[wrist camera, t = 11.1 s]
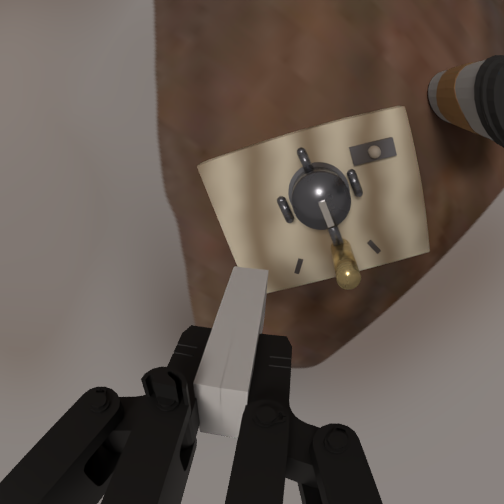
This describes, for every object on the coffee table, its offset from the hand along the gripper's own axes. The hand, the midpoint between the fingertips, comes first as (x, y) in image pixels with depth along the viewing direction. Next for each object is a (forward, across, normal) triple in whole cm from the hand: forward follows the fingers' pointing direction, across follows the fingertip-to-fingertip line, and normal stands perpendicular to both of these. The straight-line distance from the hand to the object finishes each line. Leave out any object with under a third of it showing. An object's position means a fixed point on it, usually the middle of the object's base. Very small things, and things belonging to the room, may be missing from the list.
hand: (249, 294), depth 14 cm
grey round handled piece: (+22, +5, -2) cm, 23 cm away
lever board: (+24, +6, -3) cm, 25 cm away
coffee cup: (+25, +20, +12) cm, 34 cm away
